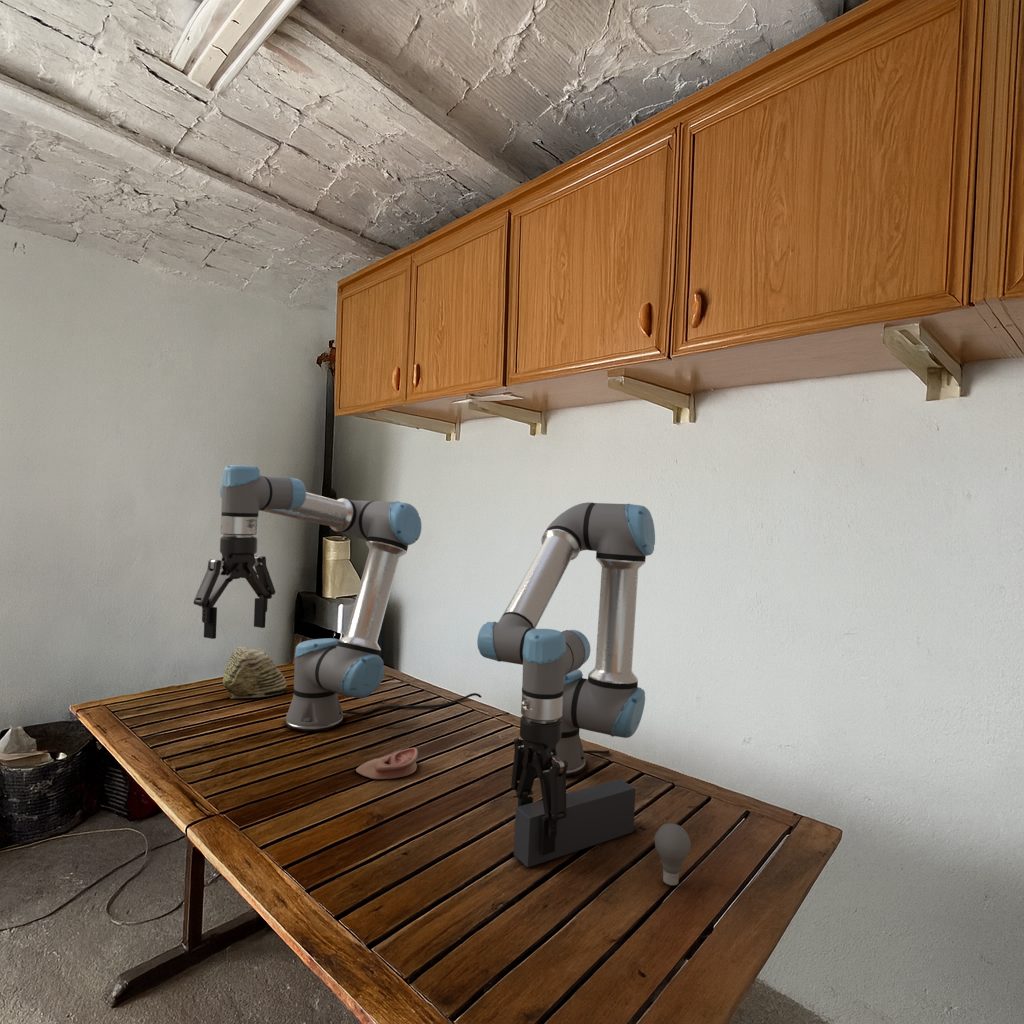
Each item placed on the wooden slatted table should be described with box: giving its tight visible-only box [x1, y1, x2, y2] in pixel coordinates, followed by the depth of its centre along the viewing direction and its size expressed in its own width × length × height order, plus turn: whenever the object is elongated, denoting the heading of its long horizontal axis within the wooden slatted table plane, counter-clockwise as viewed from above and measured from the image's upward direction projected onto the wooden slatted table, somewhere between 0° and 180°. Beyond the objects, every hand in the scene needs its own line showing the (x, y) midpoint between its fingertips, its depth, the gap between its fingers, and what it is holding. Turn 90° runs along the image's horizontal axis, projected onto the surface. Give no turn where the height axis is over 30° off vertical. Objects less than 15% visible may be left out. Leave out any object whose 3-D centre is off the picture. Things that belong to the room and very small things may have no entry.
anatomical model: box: [355, 747, 419, 780], centre depth 148 cm, size 13×4×12 cm
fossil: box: [222, 646, 288, 699], centre depth 198 cm, size 9×18×15 cm, turn 132°
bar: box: [513, 778, 636, 868], centre depth 120 cm, size 25×5×9 cm, turn 123°
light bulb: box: [654, 822, 692, 886], centre depth 108 cm, size 6×6×10 cm
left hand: (235, 632), depth 139 cm, fingers open, 13 cm apart
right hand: (535, 842), depth 115 cm, fingers open, 7 cm apart
